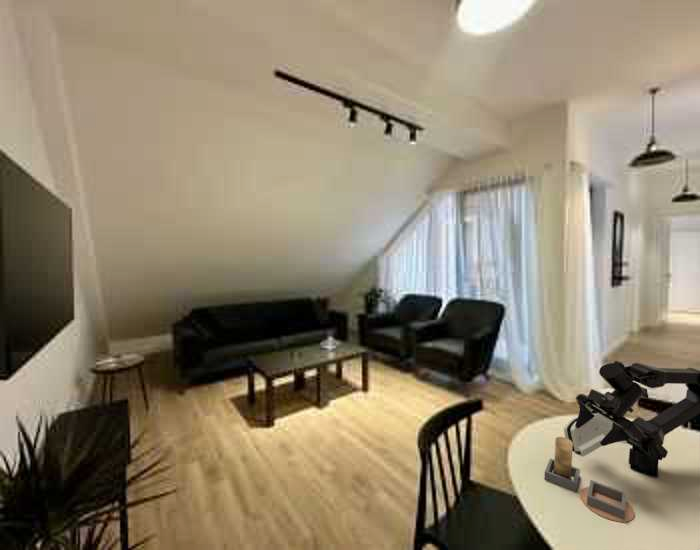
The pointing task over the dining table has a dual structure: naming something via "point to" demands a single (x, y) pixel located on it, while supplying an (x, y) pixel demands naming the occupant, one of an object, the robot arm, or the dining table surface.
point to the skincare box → (603, 421)
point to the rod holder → (561, 480)
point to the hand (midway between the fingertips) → (588, 435)
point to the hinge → (584, 435)
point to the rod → (563, 457)
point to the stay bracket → (607, 502)
